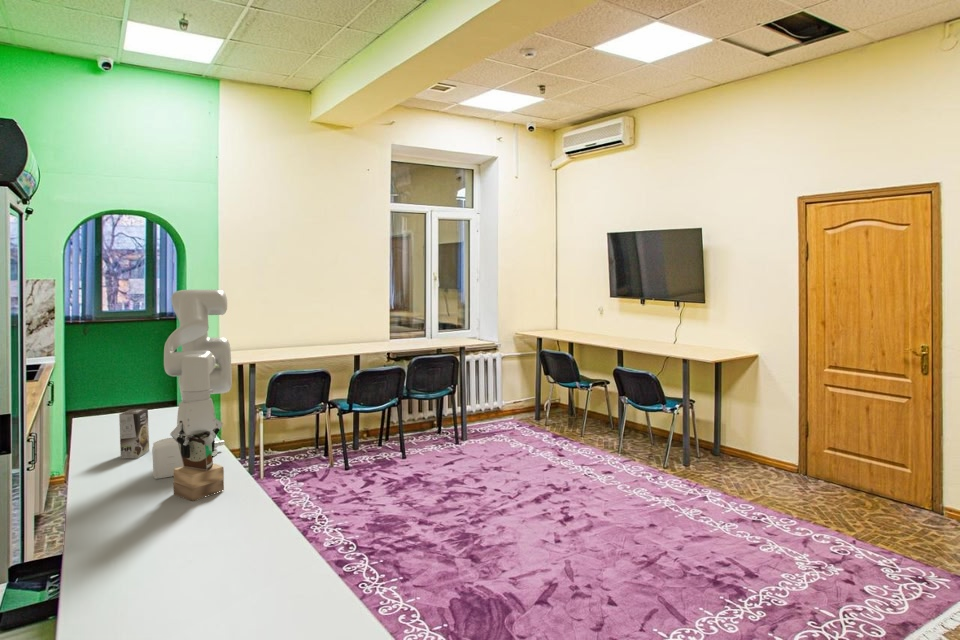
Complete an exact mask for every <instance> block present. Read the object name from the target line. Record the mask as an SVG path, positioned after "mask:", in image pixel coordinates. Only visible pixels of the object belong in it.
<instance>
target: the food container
mask: <svg viewBox="0 0 960 640" xmlns="http://www.w3.org/2000/svg"><path fill="white" fill-rule="evenodd" d="M178 435H179V437H181V435H182V434H178ZM213 440H214V441H215V438H214V439H213V436H212V434H211V433H210V432H205V433H201V434H197V435H192V436H191V437H190V439H189V442H188V445H190V458H184V457H182V455H181V458H182V462H183V466H184V467H188V468H194V469H200V470H206V471H208V470H209V469H210V468H211V467H212V466H213V464H214V459H213V457H212V442H213ZM176 442H177V441H176ZM178 446H179V450H180V454H181V444H179V443H178Z"/></svg>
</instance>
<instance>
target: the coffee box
mask: <svg viewBox="0 0 960 640" xmlns="http://www.w3.org/2000/svg"><path fill="white" fill-rule="evenodd" d="M148 410H149V409H148V408H132V409H128V410H126V411H124V412H121V413H119V415H118V417H119V445H120V447H119V449H120V459H140V458H141V457H143V456H144V455H146V454H147V453H149V452H150V433H149V411H148ZM145 453H146V454H145Z"/></svg>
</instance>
